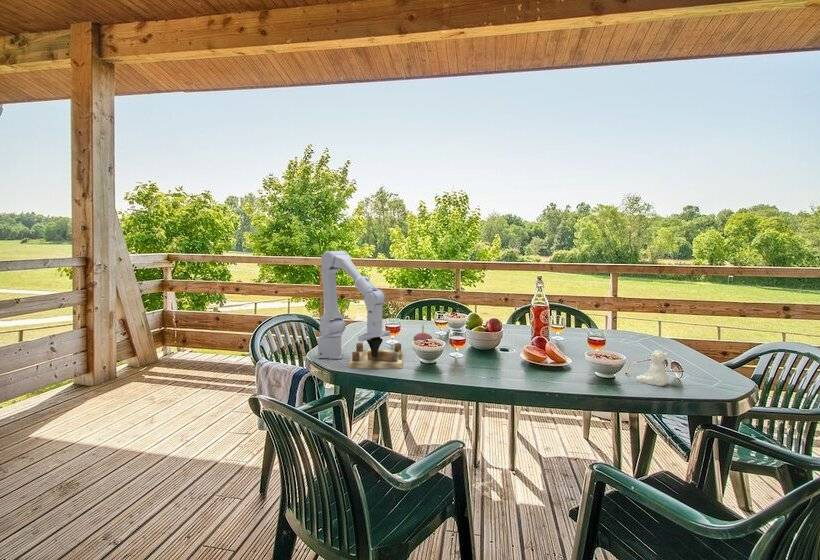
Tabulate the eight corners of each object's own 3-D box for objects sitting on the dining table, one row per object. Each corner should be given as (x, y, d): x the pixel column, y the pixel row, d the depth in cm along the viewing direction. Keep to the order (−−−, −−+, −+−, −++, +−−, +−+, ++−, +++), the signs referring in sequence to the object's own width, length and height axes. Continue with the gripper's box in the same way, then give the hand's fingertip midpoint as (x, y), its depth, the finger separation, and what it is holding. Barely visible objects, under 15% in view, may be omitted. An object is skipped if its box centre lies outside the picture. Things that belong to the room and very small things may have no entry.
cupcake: (432, 351, 189) (432, 324, 188) (413, 351, 189) (413, 324, 188) (431, 346, 198) (432, 320, 197) (413, 346, 198) (413, 320, 197)
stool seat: (349, 368, 163) (349, 355, 163) (355, 354, 183) (355, 342, 183) (402, 368, 164) (402, 355, 163) (402, 354, 183) (402, 342, 183)
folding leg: (367, 359, 167) (367, 352, 167) (369, 357, 170) (369, 350, 169) (396, 361, 165) (396, 354, 165) (398, 359, 167) (398, 352, 167)
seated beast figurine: (653, 377, 155) (655, 345, 154) (676, 385, 147) (678, 351, 146) (634, 381, 152) (636, 347, 150) (657, 389, 144) (659, 353, 143)
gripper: (366, 326, 156) (366, 362, 158) (395, 321, 167) (395, 355, 168) (354, 323, 161) (354, 358, 163) (383, 318, 172) (383, 351, 173)
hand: (374, 356), depth 166 cm, fingers closed, pressing on folding leg
